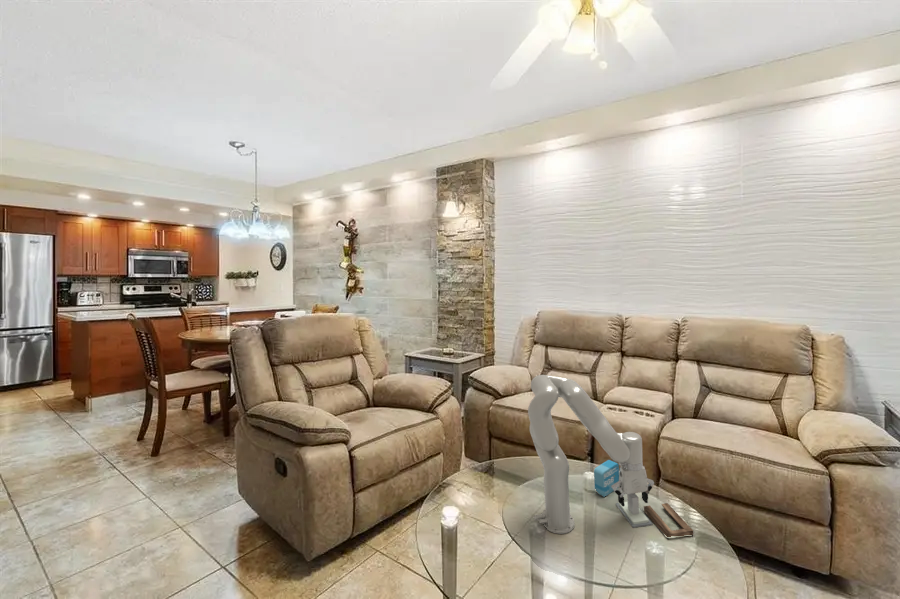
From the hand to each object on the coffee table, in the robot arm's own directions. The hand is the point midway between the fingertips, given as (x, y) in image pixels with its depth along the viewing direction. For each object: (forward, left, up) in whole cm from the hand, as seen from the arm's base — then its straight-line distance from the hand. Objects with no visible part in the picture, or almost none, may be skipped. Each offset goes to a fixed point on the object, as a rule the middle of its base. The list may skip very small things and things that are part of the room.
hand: (633, 502), depth 165 cm
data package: (-3, +17, -6) cm, 18 cm away
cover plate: (0, 0, -5) cm, 5 cm away
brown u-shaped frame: (+10, -7, -5) cm, 13 cm away
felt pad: (0, 0, -5) cm, 5 cm away
